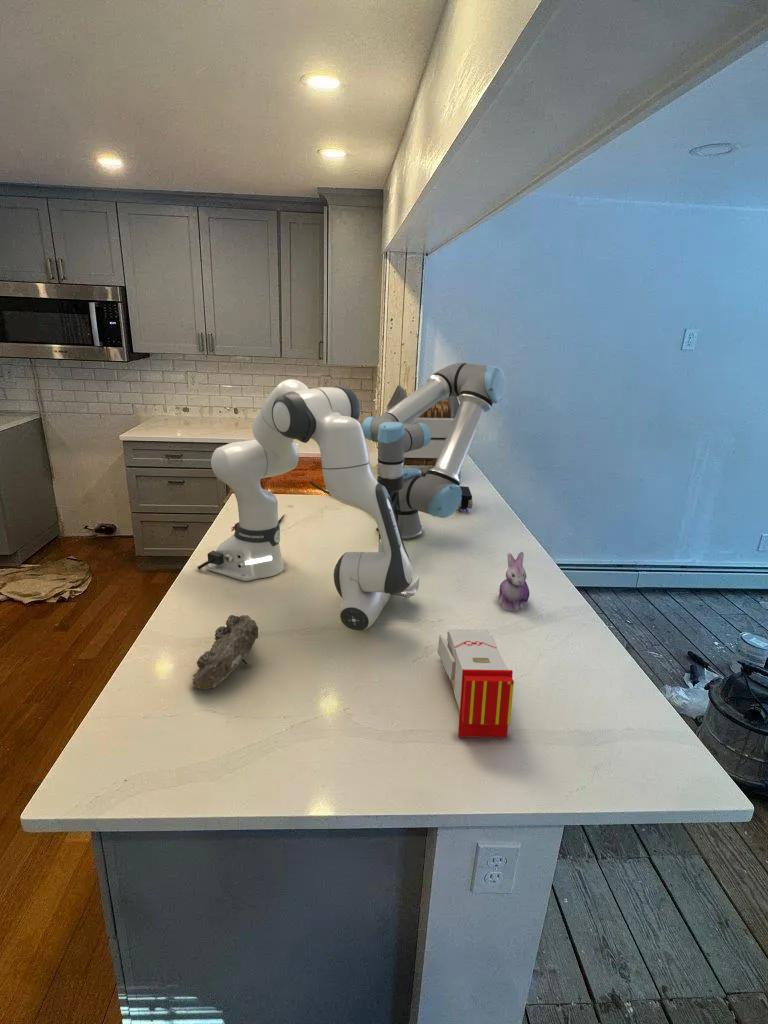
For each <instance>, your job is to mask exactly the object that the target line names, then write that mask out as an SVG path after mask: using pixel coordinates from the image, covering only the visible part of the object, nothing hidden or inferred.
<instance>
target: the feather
mask: <svg viewBox="0 0 768 1024" xmlns="http://www.w3.org/2000/svg"><path fill="white" fill-rule="evenodd" d="M285 515H286V514H283V515H282V516H281V518H279V519H278V522H279V525H281V522H282V520H283V519H284V516H285Z"/></svg>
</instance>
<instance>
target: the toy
mask: <svg viewBox="0 0 768 1024" xmlns="http://www.w3.org/2000/svg"><path fill="white" fill-rule="evenodd" d="M446 640H447V643H446V641H445V639H444V636H443V635H442V634H439V637H438V646H437V656H438V657H439V659H440V661H441V663H442V666H443V668H444V670H445V672H446V674H447V677H448V679H449V681H450V684H451V687H452V690H453V693H454V697H455V701H456V705H457V708H458V711H459V714H458V715H459V716H458V730H457V731H458V732H457V737H458V738H508V731H509V726H510V725H511V717H512V707H513V697H514V696H513V695H514V684H515V680H514V679H513V673H514V671H513V670H512V669H508V667H507V665H506V662H505V661H504V659H503V658H502V655H501V653H500V651H499V649H498V647H497V643H496V639H495V637H494V635H493V634H491V632H490V631H489V629H467V628H466V629H465V628H463V629H461V628H460V629H459V628H448V630H447V639H446Z"/></svg>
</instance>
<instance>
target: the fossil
mask: <svg viewBox="0 0 768 1024" xmlns="http://www.w3.org/2000/svg"><path fill="white" fill-rule="evenodd" d="M258 639H259V627H258V625H257V622H256V621H255V619H252V618H251V617H250V616H249V615H248V614H244V615H243V614H242V615H240V616H238V615H235V614H230V615H228V617H227V620H226V621H225V626H224V625H223V626H219V627H217V628H216V629H215V631H214V642H213V644H212V645H211V648H210V649H209V650H207V651H205V652H204V653H203V654H201V655H200V656H199V657H198V659H197V661H196V666H197V668H198V670H197V671H196V672H195V673H193V675H192V676H193V678H192V683H193V688H195V689H198V690H200V691H203V690H207V689H211V688H212V689H214V688H216V687H217V686H218V685H219V684H220V683H221V682H222V681H224V680H225V679H226V678H227V677H228V676H229V675H230V674H231V673H232V672H233V671H234V670H236V668H237V667H238V664H239V663H241V662H242V663H243V664H244V665H245V666H248V665H249V664H248V662H247V661H246V659H244V658H245V656H246V655H247V654H249V653H250V652H251V650H252V649H253V646H254V645H255V643H256V641H257V640H258Z"/></svg>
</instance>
